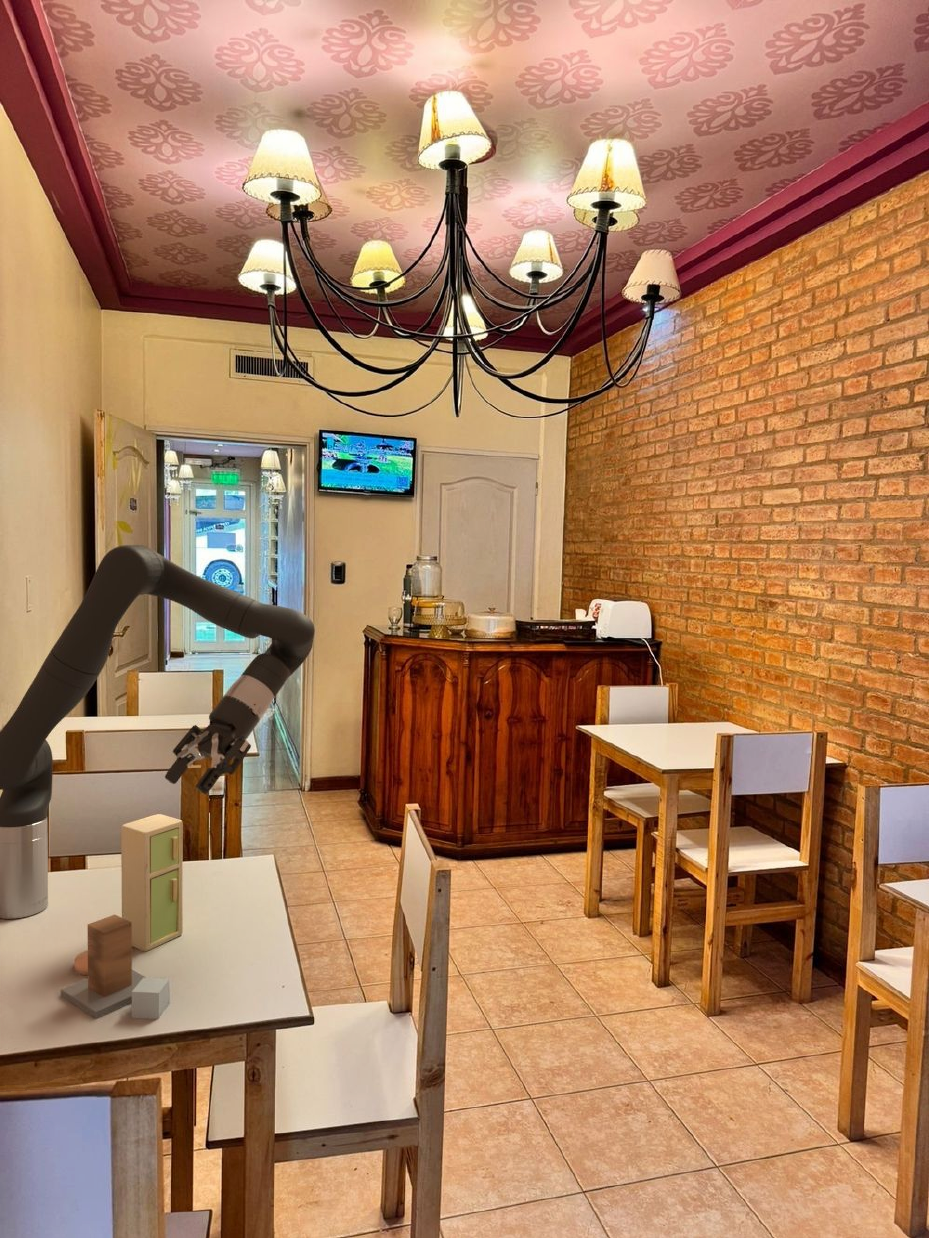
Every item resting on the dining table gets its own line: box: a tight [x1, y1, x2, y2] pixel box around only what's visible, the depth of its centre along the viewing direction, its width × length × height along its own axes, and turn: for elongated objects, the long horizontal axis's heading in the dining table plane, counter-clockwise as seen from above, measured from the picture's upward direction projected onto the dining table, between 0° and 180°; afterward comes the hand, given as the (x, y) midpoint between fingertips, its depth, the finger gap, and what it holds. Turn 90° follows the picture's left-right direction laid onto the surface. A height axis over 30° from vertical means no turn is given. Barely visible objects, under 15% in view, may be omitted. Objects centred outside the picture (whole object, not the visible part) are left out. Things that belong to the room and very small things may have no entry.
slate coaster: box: [60, 969, 147, 1019], centre depth 124 cm, size 10×10×1 cm
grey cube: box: [131, 977, 171, 1019], centre depth 120 cm, size 4×4×4 cm
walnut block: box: [87, 914, 133, 997], centre depth 124 cm, size 4×4×10 cm
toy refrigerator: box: [120, 813, 184, 952], centre depth 141 cm, size 8×7×21 cm
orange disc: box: [73, 950, 88, 976], centre depth 132 cm, size 6×6×2 cm
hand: (184, 785), depth 132 cm, fingers open, 8 cm apart
